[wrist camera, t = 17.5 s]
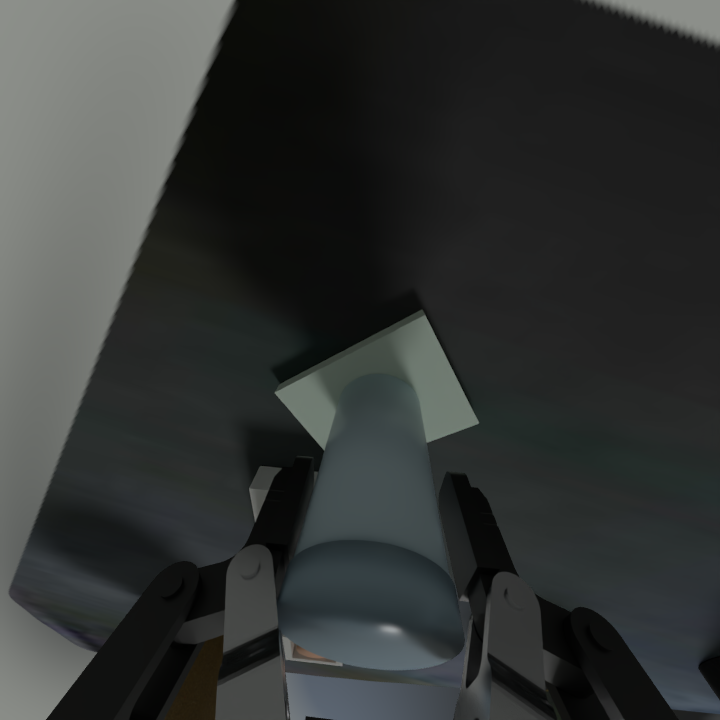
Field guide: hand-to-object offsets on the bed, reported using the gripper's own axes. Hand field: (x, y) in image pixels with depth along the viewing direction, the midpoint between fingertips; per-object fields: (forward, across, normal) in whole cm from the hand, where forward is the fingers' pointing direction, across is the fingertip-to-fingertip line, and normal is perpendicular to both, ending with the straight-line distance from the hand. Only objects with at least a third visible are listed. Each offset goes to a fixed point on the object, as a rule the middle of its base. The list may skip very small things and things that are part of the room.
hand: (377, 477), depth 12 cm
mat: (+6, 0, 0) cm, 6 cm away
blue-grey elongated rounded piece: (+5, 0, 0) cm, 5 cm away
